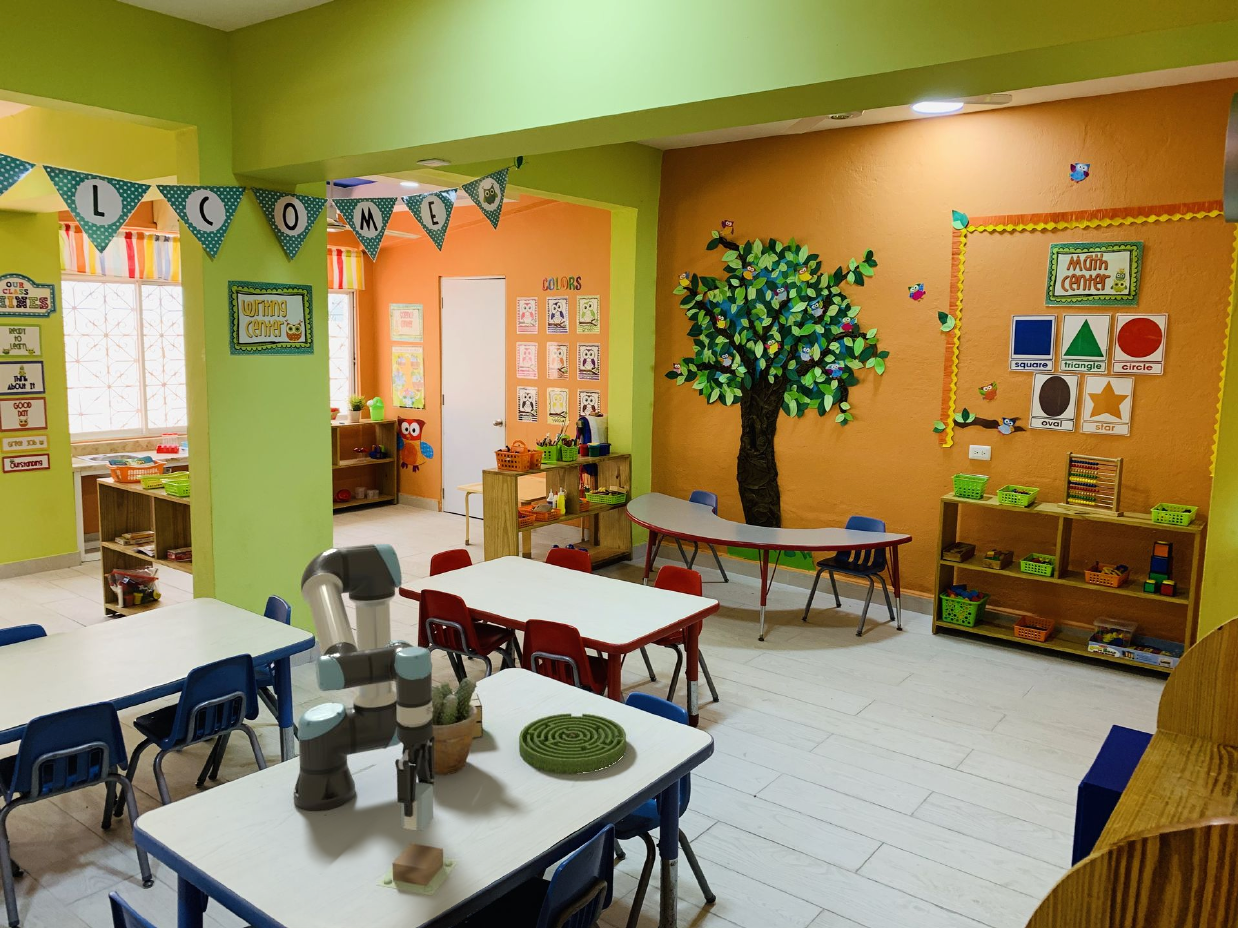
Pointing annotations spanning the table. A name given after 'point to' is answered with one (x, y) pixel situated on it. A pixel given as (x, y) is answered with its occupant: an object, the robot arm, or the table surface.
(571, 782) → the table surface
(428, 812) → the column brick
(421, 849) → the base brick
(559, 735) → the maze
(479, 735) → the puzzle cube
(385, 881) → the plate
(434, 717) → the potted plant
